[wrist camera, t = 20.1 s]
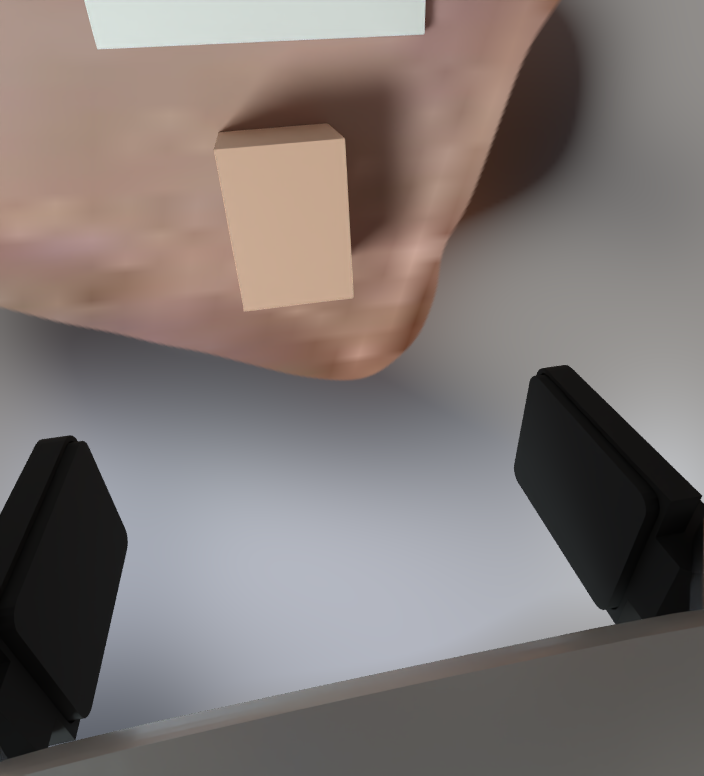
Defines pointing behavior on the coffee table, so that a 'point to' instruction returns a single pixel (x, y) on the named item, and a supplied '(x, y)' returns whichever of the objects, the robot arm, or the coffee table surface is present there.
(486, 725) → the robot arm
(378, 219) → the coffee table surface
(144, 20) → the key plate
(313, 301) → the tan block
